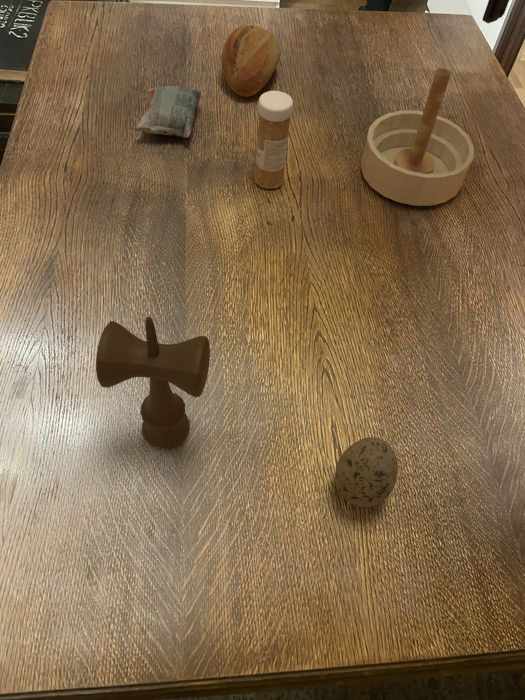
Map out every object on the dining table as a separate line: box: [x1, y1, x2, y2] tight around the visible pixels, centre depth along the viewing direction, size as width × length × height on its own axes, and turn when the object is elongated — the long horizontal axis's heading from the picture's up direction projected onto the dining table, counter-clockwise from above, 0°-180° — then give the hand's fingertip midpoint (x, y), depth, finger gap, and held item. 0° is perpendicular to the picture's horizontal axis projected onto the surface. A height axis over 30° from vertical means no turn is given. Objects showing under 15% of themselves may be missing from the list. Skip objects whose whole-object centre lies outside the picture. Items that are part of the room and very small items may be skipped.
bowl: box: [360, 110, 475, 207], centre depth 91 cm, size 16×16×6 cm
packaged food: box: [133, 85, 202, 139], centre depth 95 cm, size 9×12×5 cm
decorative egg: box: [334, 436, 399, 508], centre depth 59 cm, size 6×6×10 cm
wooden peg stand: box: [394, 68, 452, 174], centre depth 86 cm, size 6×6×16 cm
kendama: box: [95, 316, 211, 449], centre depth 58 cm, size 6×10×20 cm, turn 83°
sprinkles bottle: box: [253, 90, 294, 190], centre depth 85 cm, size 5×5×13 cm
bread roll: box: [220, 24, 282, 98], centre depth 103 cm, size 10×15×8 cm, turn 168°
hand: (463, 4), depth 73 cm, fingers open, 8 cm apart
